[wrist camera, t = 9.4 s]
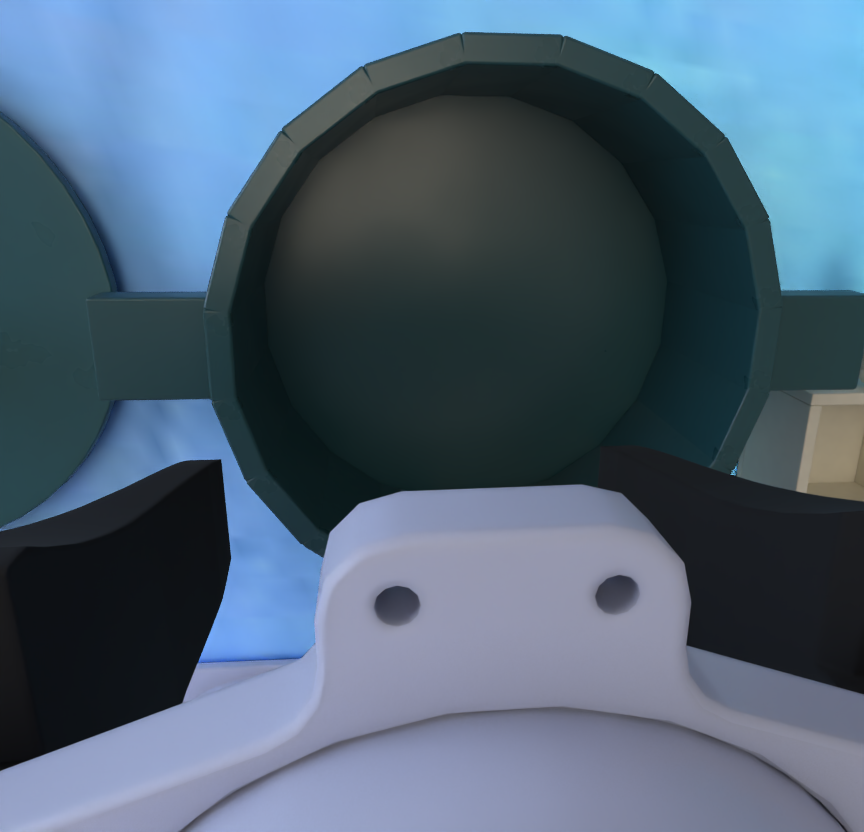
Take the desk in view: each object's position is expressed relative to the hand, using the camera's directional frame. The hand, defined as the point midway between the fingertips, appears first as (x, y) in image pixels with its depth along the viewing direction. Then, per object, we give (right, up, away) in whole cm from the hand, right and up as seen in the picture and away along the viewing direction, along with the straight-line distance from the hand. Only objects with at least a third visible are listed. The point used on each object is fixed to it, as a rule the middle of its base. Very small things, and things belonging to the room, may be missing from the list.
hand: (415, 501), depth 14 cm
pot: (+1, +5, +8) cm, 10 cm away
